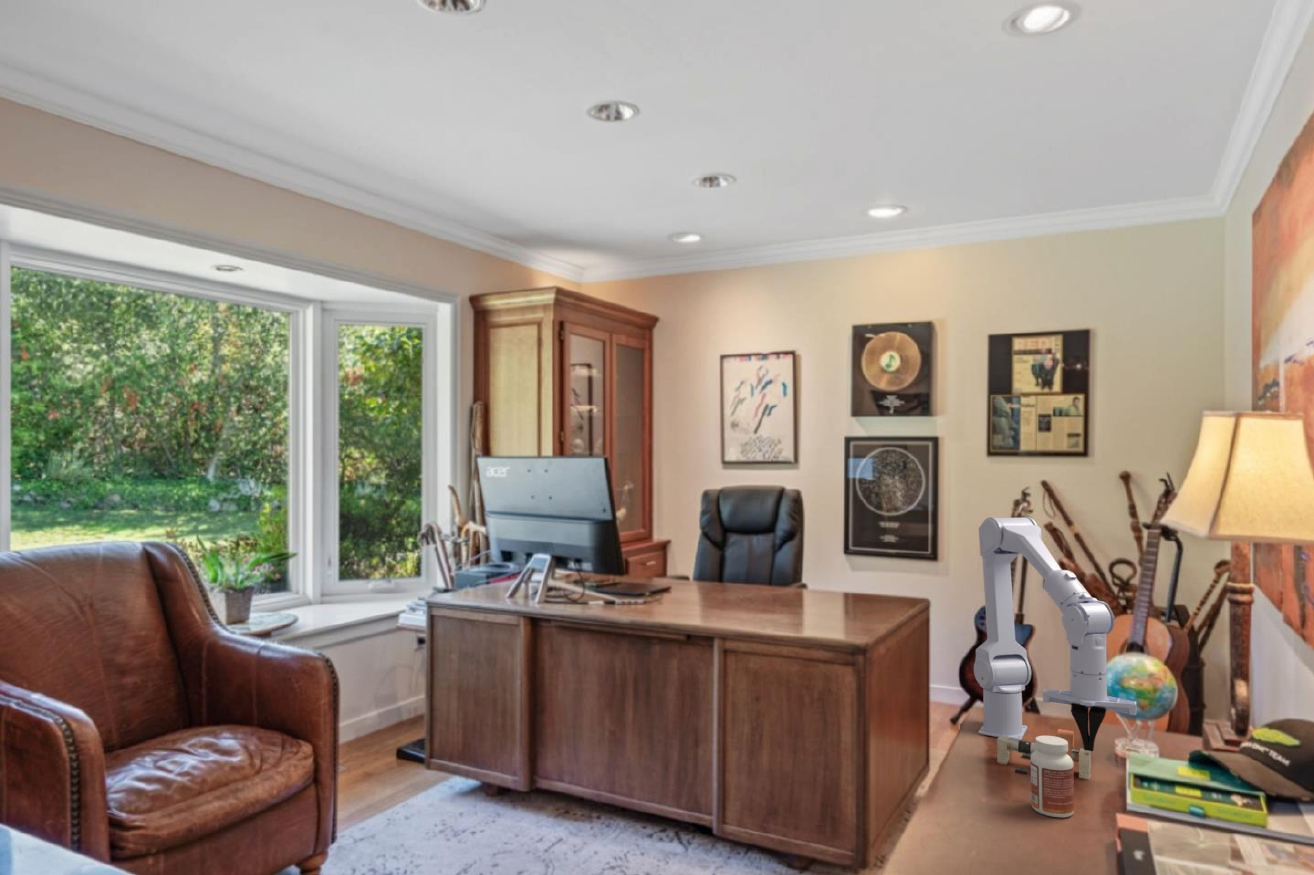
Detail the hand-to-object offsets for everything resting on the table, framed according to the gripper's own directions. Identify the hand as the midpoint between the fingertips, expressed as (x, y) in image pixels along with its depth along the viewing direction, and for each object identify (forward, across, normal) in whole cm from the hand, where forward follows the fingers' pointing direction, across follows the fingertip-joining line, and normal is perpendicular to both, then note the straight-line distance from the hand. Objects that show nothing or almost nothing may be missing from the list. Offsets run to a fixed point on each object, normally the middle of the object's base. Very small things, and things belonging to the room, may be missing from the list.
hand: (1089, 749), depth 145 cm
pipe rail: (+5, -7, 0) cm, 9 cm away
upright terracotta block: (+5, -4, 0) cm, 6 cm away
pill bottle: (+5, -4, -19) cm, 20 cm away
